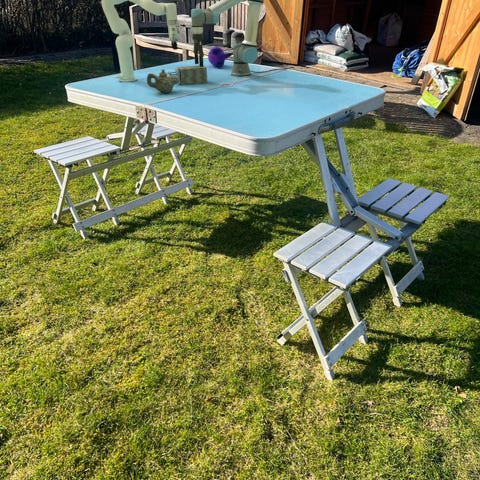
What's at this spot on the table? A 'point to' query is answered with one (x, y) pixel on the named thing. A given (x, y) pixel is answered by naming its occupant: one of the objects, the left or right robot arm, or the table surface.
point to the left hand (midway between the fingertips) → (174, 48)
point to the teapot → (162, 81)
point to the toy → (218, 56)
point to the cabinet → (193, 75)
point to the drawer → (176, 74)
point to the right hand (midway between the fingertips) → (199, 65)
